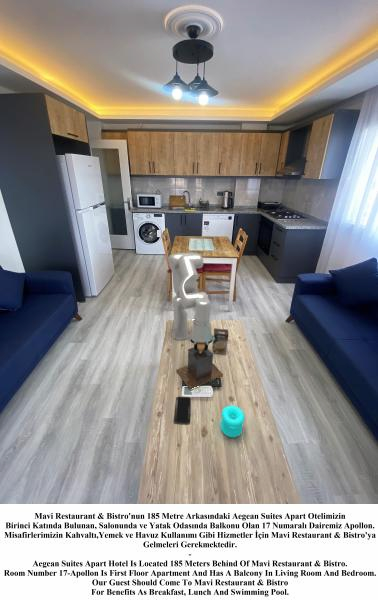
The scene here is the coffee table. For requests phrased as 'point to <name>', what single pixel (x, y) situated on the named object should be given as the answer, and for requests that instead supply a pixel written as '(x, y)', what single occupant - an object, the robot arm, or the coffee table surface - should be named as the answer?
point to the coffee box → (220, 341)
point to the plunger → (200, 347)
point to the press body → (199, 369)
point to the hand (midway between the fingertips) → (200, 349)
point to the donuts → (232, 421)
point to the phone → (182, 410)
